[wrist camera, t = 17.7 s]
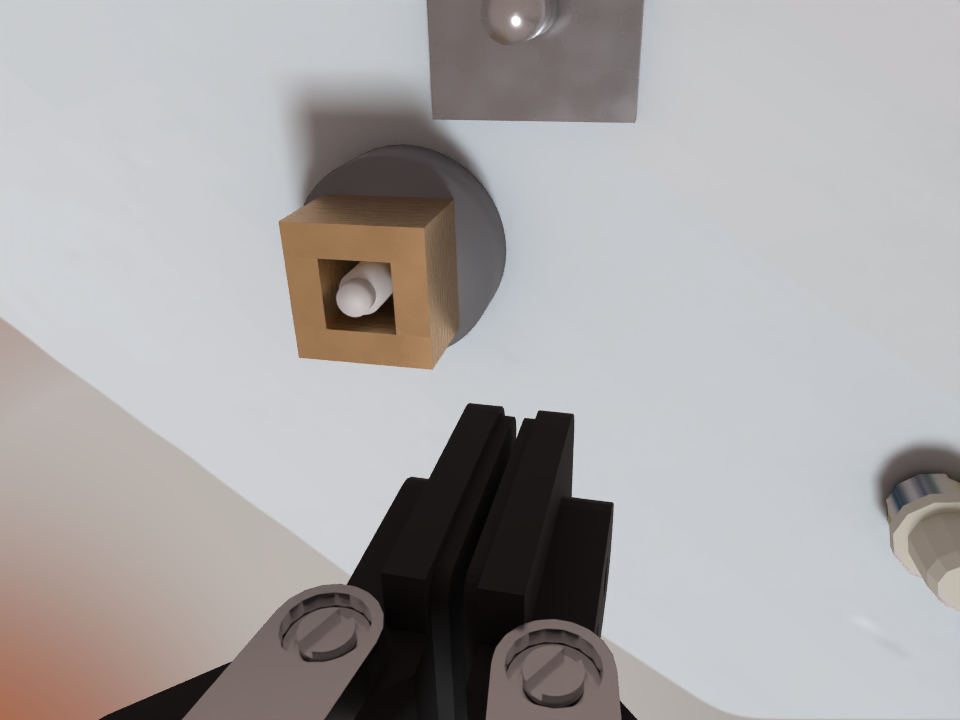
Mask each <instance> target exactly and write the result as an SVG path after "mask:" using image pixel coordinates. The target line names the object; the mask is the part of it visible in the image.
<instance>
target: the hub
mask: <svg viewBox="0 0 960 720" xmlns="http://www.w3.org/2000/svg"><path fill="white" fill-rule="evenodd" d="M323 194H335V195H362V196H389V197H417V198H444V199H454V205H455V228H456V251H457V274H458V298H459V321H460V328H459V330H458V331H457V333H456V334H455V336H454V337H453V339H452V340H451V342H450V343H449V345H448V347H449V346H451V345H453V344H454V343H456V342H458V341H459V340H460V339H462V338H463V337H464V336H465V335H467V334H468V332H469V331H470V330H471V329H472V328H473V327H474V326H475V325H476V323H477V322H478V321H479V319H480V318H481V316H482V315H483V313H484V311H485V310H486V308H487V306H488V305H489V303H490V301H491V300H492V298H493V297H494V295H495V293H496V291H497V289H498V287H499V285H500V282H501V279H502V276H503V272H504V267H505V261H506V242H505V234H504V229H503V225H502V222H501V219H500V216H499V213H498V211H497V209H496V207H495V205H494V203H493V200H492V199H491V197H490V196H489V194H488V193H487V191H486V190H485V188H484V187H483V186H482V185H481V184H480V182H479V181H478V180H477V179H476V178H475V177H474V176H473V175H472V174H471V173H470V172H469V171H468V170H467V169H466V168H464V167H463V166H461V165H460V164H458V163H457V162H456V161H454V160H452V159H451V158H449V157H447V156H445V155H443V154H441V153H438V152H436V151H433V150H430V149H427V148H422V147H418V146H410V145H391V146H386V147H381V148H377V149H374V150H371V151H368V152H366V153H364V154H362V155H360V156H359V157H357V158H355V159H353V160H351V161H349V162H348V163H346V164H344V165H342V166H340V167H339V168H337V169H335V170H333V171H332V172H331V173H329V174H328V175H327V176H325V177H324V178H323V179H322V180H321V181H320V182H319V183H318V184H317V185H316V186H315V188H314V189H313V190H312V192H311V193H310V195H309V196H308V198H307V200H306V202H305V204H304V206H305V205H307V204H308V203H310V202H312V201H313V200H315V199H317V198H318V197H320V196H322V195H323ZM391 294H393V288H392V276H391V264H390V263H386V262H368V261H361V262H360V263H359V264H358V265H357V266H355V267H354V268H353V269H352V270H351V271H350V272H349V273H348V274H346V275H345V276H344V277H343V278H342V280H341V282H340V284H339V291H338V292H337V296H336V301H337V305H338V307H339V308H340V310H341V311H342V312H343V313H344V314H346V315H348V316H351V317H360V316H362V315H368V314H371V313H373V312H375V311H376V310H377V309H378V308H379V307H380V306H381V305H382V304H383V303H384V302H385V301H386V300H387V299H388V297H389V296H390V295H391Z"/></svg>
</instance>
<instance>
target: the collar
mask: <svg viewBox="0 0 960 720" xmlns="http://www.w3.org/2000/svg"><path fill="white" fill-rule="evenodd" d="M279 227H280V234H281V240H282V247H283V254H284V260H285V267H286V274H287V280H288V287H289V294H290V300H291V307H292V314H293V320H294V327H295V334H296V340H297V347H298V354H299V358H309V359H320V360H331V361H343V362H354V363H365V364H376V365H387V366H398V367H410V368H421V369H432V370H433V368H434V367H435V365H436V364H437V362H438V360H439V359H440V357H441V356H442V354H443V353H444V351H445V350H446V348H447V347H448V345H449V343H450V342H451V340H452V339H453V337H454V336H455V334H456V333H457V331H458V330H459V328H460V321H459V298H458V274H457V251H456V228H455V205H454V199H444V198H417V197H389V196H362V195H335V194H323V195H322V196H320V197H318V198H317V199H315V200H313V201H312V202H310V203H308V204H307V205H305V206H303V207H302V208H300V209H298V210H297V211H295V212H293V213H292V214H290V215H288V216H287V217H285V218H284V219H282V220H280V221H279ZM361 261H368V262H386V263H390V264H391V276H392V288H393V294H391V295H390V296H389V297H388V299H387V300H386V301H385V302H384V303H383V304H382V305H381V306H380V307H379V308H378V309H377V310H376V311H375V312H373V313H371V314H368V315H362V316H360V317H351V316H348V315H346V314H344V313H343V312H342V311H341V310H340V308H339V307H338V305H337V301H336V296H337V292H338V291H339V284H340V282H341V280H342V278H343V277H344V276H345V275H346V274H348V273H349V272H350V271H351V270H352V269H353V268H354V267H355V266H357V265H358V264H359V263H360V262H361Z"/></svg>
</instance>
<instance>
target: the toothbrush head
mask: <svg viewBox="0 0 960 720" xmlns="http://www.w3.org/2000/svg"><path fill="white" fill-rule="evenodd" d="M886 502H887V504H888V518H887V520H888V523H889V528H890V546H891V549H892V551H893V554H894V556H895V557H896V558H897V559H898V560H899V561H900V563H901V564H902V565H903V566H904V567H905V568H906V569H907V571H908V572H909V573H910V574H913V575H915V576H918V577H920V578H923V579H924V581H925V583H926V585H927V586H928V587H929V589H930V590H931V591H932V592H933V593H934V594H935V596H936V597H937V598H938V599H939V600H940V601H941V602H943V603H944V604H945V605H946V606H948V607H950V608H953V609H955V610H958V611H960V483H959V482H957V481H954V480H952V479H950V478H948V477H947V475H946V474H919V475H916V476H914V477H912V478H910V479H908V480H905V481H903V482H901V483H899V484H897V486H896V487H895V488H894V490H893V491H892V492H891V494H890V495H889V497H888V498H887V499H886Z"/></svg>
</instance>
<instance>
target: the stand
mask: <svg viewBox="0 0 960 720" xmlns="http://www.w3.org/2000/svg"><path fill="white" fill-rule="evenodd" d="M427 8H428V29H429V49H430V70H431V90H432V111H433V119H441V120H500V121H558V122H616V123H635V121H636V114H637V99H638V84H639V69H640V54H641V39H642V25H643V10H644V0H427Z"/></svg>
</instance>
